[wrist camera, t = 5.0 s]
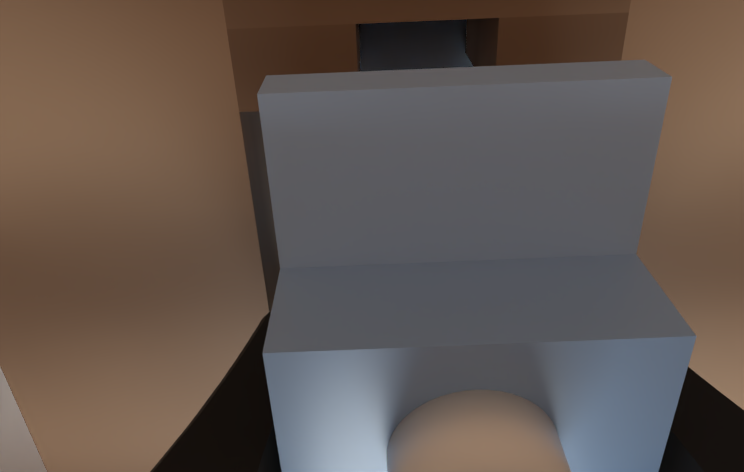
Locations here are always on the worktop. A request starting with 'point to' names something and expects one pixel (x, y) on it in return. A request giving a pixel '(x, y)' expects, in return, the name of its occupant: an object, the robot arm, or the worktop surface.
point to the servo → (468, 270)
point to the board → (252, 193)
